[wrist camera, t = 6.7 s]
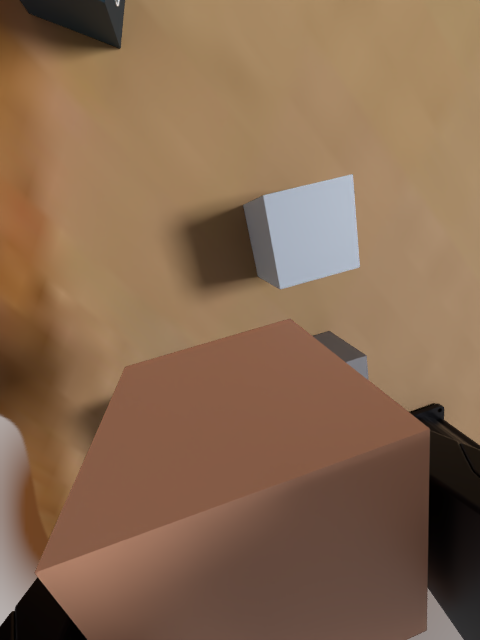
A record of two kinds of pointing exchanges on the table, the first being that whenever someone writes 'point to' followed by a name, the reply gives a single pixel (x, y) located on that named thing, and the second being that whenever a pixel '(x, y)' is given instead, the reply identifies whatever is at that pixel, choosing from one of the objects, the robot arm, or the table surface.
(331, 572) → the terracotta cube
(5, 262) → the table surface
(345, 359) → the charcoal cube
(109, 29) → the watch
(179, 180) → the table surface
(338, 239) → the slate cube
